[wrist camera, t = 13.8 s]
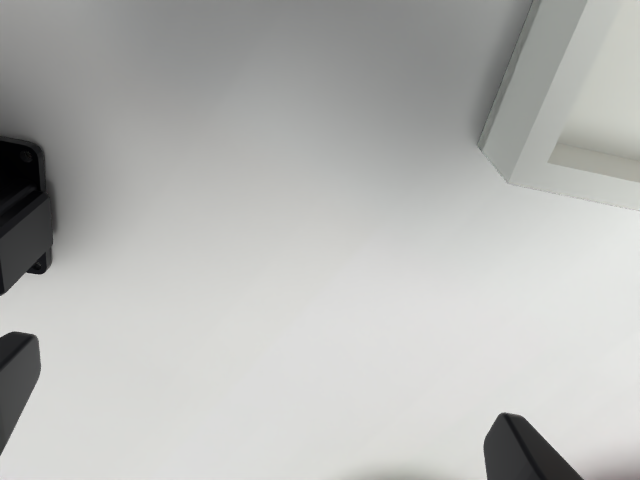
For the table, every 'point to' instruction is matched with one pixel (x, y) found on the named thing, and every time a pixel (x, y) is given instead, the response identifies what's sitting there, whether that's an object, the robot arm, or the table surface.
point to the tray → (572, 103)
